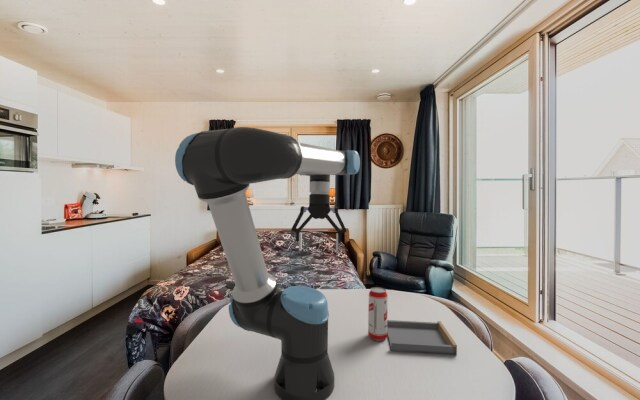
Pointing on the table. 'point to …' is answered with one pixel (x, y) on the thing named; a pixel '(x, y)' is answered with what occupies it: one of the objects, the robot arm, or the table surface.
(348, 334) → the table surface
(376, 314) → the beer can
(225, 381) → the table surface
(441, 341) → the tray
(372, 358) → the table surface
